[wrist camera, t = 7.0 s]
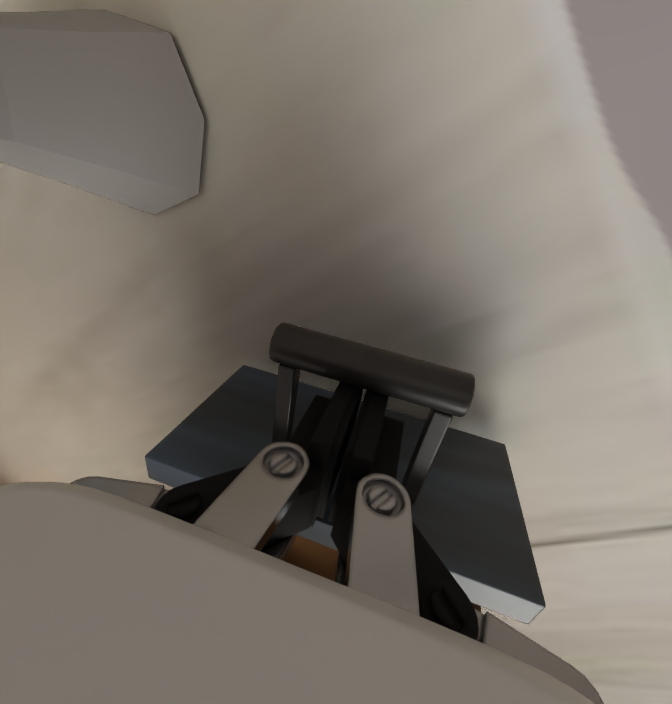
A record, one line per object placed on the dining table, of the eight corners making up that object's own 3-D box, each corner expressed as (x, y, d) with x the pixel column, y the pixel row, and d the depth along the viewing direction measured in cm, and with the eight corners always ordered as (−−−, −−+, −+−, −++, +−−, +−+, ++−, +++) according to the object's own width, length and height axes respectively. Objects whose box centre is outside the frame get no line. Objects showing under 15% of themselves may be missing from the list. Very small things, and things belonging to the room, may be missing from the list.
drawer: (245, 263, 15) (118, 316, 9) (563, 342, 13) (673, 482, 7) (239, 533, 25) (178, 640, 19) (413, 603, 23) (404, 748, 17)
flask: (190, 0, 12) (-466, -488, 3) (222, 215, 15) (-60, 257, 7) (41, 24, 14) (-641, -251, 5) (99, 213, 17) (-251, 243, 8)
